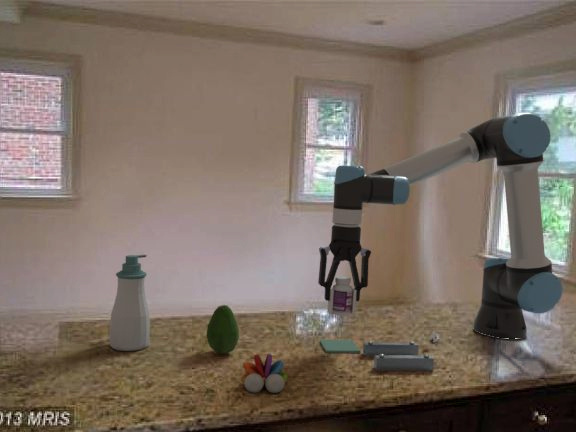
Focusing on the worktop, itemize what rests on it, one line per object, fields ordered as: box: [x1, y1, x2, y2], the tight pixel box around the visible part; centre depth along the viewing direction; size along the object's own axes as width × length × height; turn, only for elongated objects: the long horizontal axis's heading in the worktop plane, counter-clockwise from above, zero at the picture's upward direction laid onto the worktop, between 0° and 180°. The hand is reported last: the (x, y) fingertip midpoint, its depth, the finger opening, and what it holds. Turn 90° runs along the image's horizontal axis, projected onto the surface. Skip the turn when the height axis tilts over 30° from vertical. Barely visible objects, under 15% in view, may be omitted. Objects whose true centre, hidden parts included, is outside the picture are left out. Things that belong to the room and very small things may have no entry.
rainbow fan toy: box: [240, 353, 288, 394], centre depth 117 cm, size 8×10×7 cm
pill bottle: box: [331, 276, 354, 317], centre depth 146 cm, size 5×5×10 cm
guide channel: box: [362, 340, 435, 372], centre depth 138 cm, size 14×12×4 cm
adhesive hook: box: [429, 331, 441, 343], centre depth 157 cm, size 3×3×3 cm
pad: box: [319, 339, 362, 354], centre depth 147 cm, size 9×9×1 cm
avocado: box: [206, 304, 240, 355], centre depth 137 cm, size 8×8×12 cm
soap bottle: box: [108, 254, 151, 352], centre depth 139 cm, size 10×10×23 cm
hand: (341, 312), depth 146 cm, fingers closed on pill bottle, 5 cm apart
